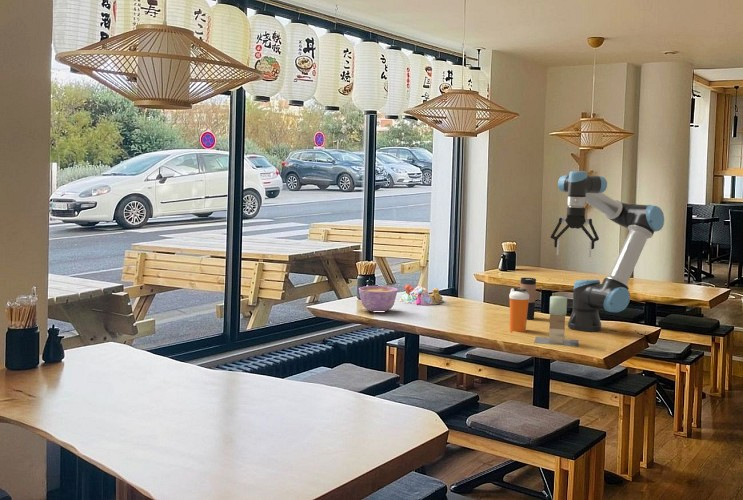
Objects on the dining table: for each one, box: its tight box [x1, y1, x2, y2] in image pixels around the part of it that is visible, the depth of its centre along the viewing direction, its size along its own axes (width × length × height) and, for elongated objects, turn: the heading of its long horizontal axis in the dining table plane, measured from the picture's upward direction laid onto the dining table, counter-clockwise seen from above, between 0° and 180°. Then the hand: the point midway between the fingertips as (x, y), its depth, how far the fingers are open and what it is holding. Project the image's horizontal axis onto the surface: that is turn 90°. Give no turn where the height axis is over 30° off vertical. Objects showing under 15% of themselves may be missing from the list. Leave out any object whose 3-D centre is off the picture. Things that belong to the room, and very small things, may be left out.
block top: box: [549, 313, 566, 331], centre depth 325 cm, size 6×6×6 cm
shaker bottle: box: [508, 287, 529, 334], centre depth 347 cm, size 9×9×20 cm
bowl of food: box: [358, 285, 399, 311], centre depth 391 cm, size 20×20×12 cm
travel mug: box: [519, 277, 537, 321], centre depth 380 cm, size 8×8×20 cm
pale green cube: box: [548, 295, 568, 316], centre depth 324 cm, size 7×7×7 cm
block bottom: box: [548, 327, 566, 344], centre depth 325 cm, size 6×6×6 cm
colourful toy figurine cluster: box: [398, 284, 444, 306], centre depth 422 cm, size 25×24×9 cm
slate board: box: [533, 336, 579, 348], centre depth 326 cm, size 13×18×1 cm
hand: (573, 255), depth 332 cm, fingers open, 13 cm apart
